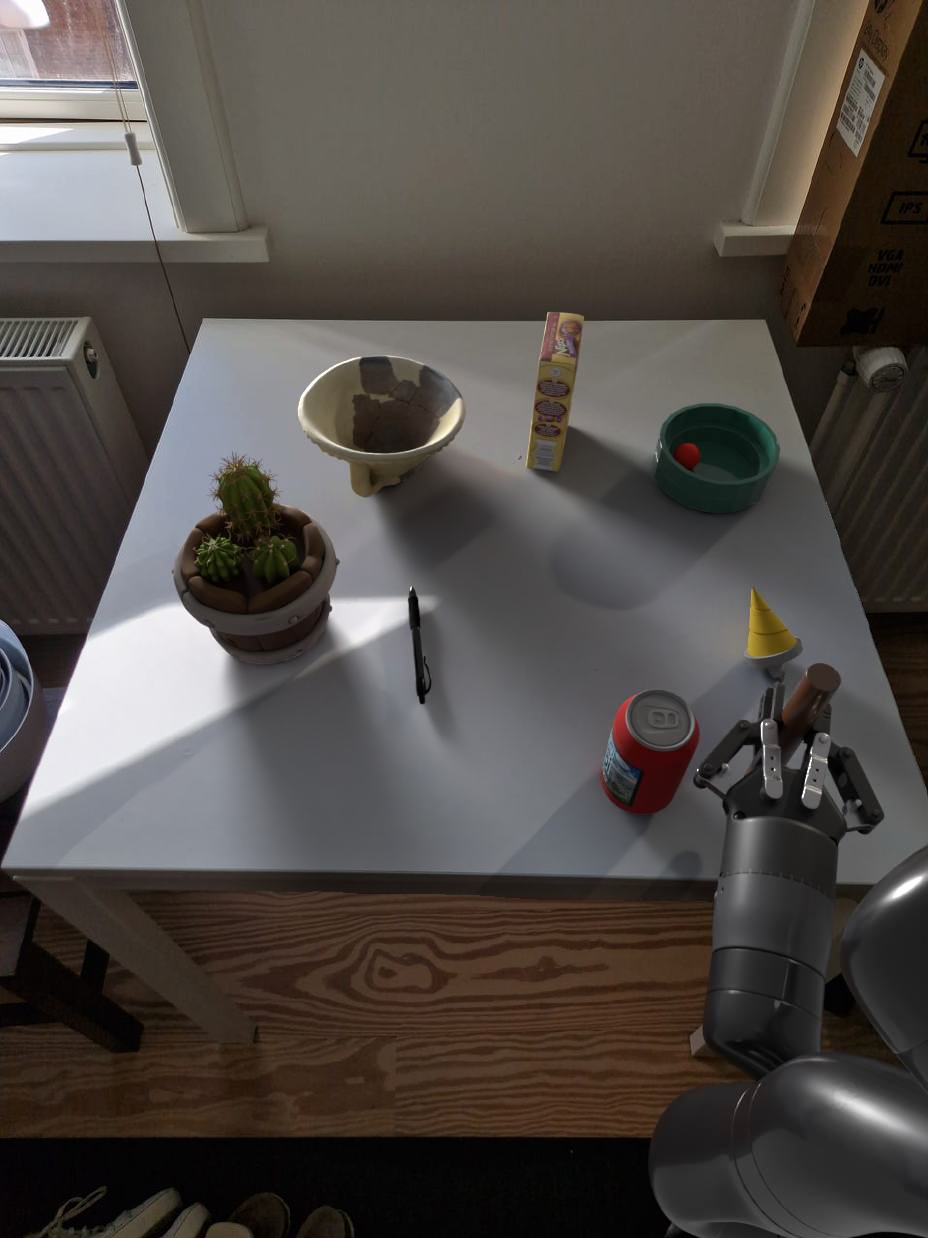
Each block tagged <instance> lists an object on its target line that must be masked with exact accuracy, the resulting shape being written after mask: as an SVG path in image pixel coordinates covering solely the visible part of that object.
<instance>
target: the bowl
mask: <svg viewBox="0 0 928 1238" xmlns="http://www.w3.org/2000/svg"><path fill="white" fill-rule="evenodd" d="M466 413H467V406H466V402H465V399H464V398H463V395H462V394H461V392H460V390H459V389H458V388H457V387H456V386H455V384H454V383H453V382H452V381H451V380H450V379H449V378H448V377H447V376H446V375H445V374H444V373H442V372H441V371H439V370H437V369H435V368H433V367H431V366H430V365H427V364H425V363H422V362H419V361H417V360H414V359H410V358H407V357H401V356H395V355H368V356H367V355H365V356H358V357H353V358H350V359H348V360H346V361H345V360H344V361H342V362H340V363H337V364H335V365H333V366H331V367H330V368H328V369H327V370H326V371H324V372H322V373H321V374H320V375H318V376H317V377H316V378H315V379H314V380H313V381H312V382H310V384H309V385H308V386H307V387H306V389H305V390H304V391H303V393H302V395H300V398H299V403H298V406H297V415H298V420H299V423H300V425H301V427H302V430H303V432H304V433H305V435H306V438H307V439H308V440H310V442H311V443H312V444H314V445H317V446H318V448H319V449H320V451H321V452H322V453H327V454H328V456H330V457H332V458H335V459H337V460H338V461H339V460H341V461H345V462H346V463H348V464H349V479H350V486H351V489H352V491H353V492H354V494H356V495H357V496H358V497H360V498H363V499H364V498H370V497H371V496H373V495H374V494H375V493H377V492H378V491H379V490H380V489H382V488H384V487H386V486H395V485H398V484H399V483H400V484H401V483H404V482H405V481H406V480H408V479H409V478H410V477H411V476H412V475H413V474H414V472H415V469H416V468H417V465H418V464H420V463H421V462H423V461H424V459H426V458H427V457H428V456H431V457H433V456H435V455H436V454H437V453H440V452H442V451H443V449H444V448H445V447H448V446H449V445H450V443H451V442H453V441H454V440H455V437H456V436H457V435H458V434H459V432H460V430H461V429H462V427H463V425H464V422H465V420H466V419H465V418H466Z"/></svg>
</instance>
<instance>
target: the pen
mask: <svg viewBox="0 0 928 1238" xmlns="http://www.w3.org/2000/svg"><path fill="white" fill-rule="evenodd" d="M419 604H420V603H419V597H418V596H417V591H416V589H415V587H414V586H413V585H411V586H410V587H409V589H408V598H407V605H408V620H409V628H410V631H411V642H412V643H411V644H412V653H413V654H412V655H413V666H414V676H415V677H414V678H415V691H416V697H418V703H419V704H420V705H425V704H426V696H427V695H428V694H429V693H430V691H431V689H432V685H433V677H432V673H431V670H430V668H429V667H430V666H429V665H428V664H427V662H426V661H427V656H426V655H424V654H423V643H422V634H421V629H422V626H421V625H422V622H421V612H420V605H419ZM425 670H426V673H427V676H428V686H427V682H426V676H425V674H426V673H425Z"/></svg>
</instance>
